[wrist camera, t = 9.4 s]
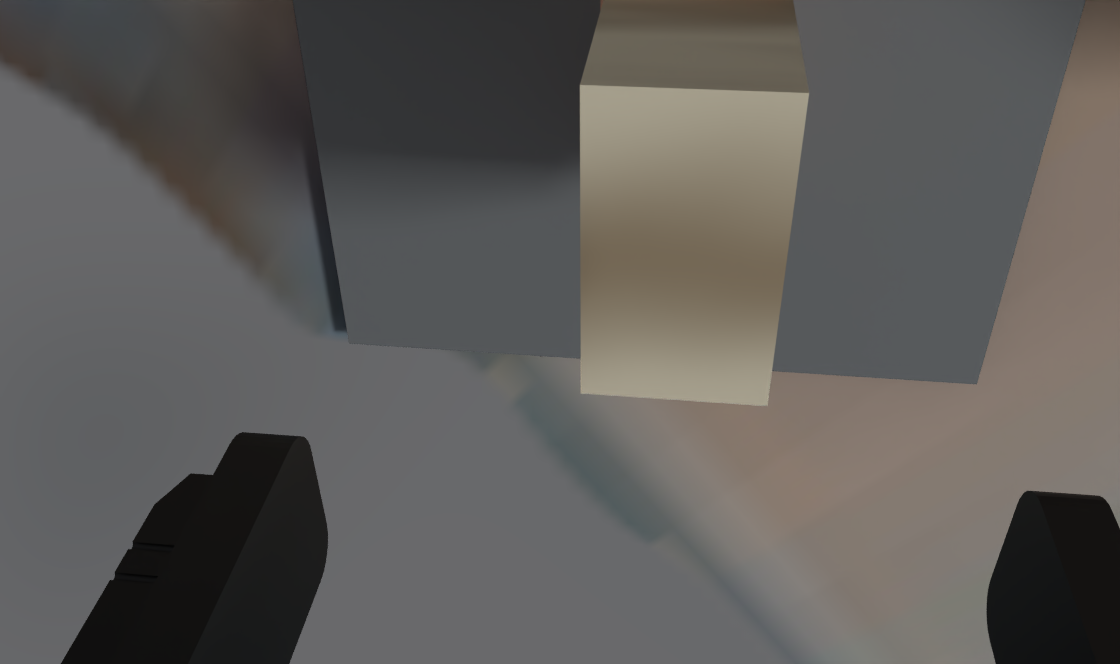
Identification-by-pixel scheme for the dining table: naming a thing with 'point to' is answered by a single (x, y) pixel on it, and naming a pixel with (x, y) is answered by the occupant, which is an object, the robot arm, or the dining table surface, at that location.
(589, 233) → the maple brick
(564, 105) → the charcoal mat
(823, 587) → the dining table surface
